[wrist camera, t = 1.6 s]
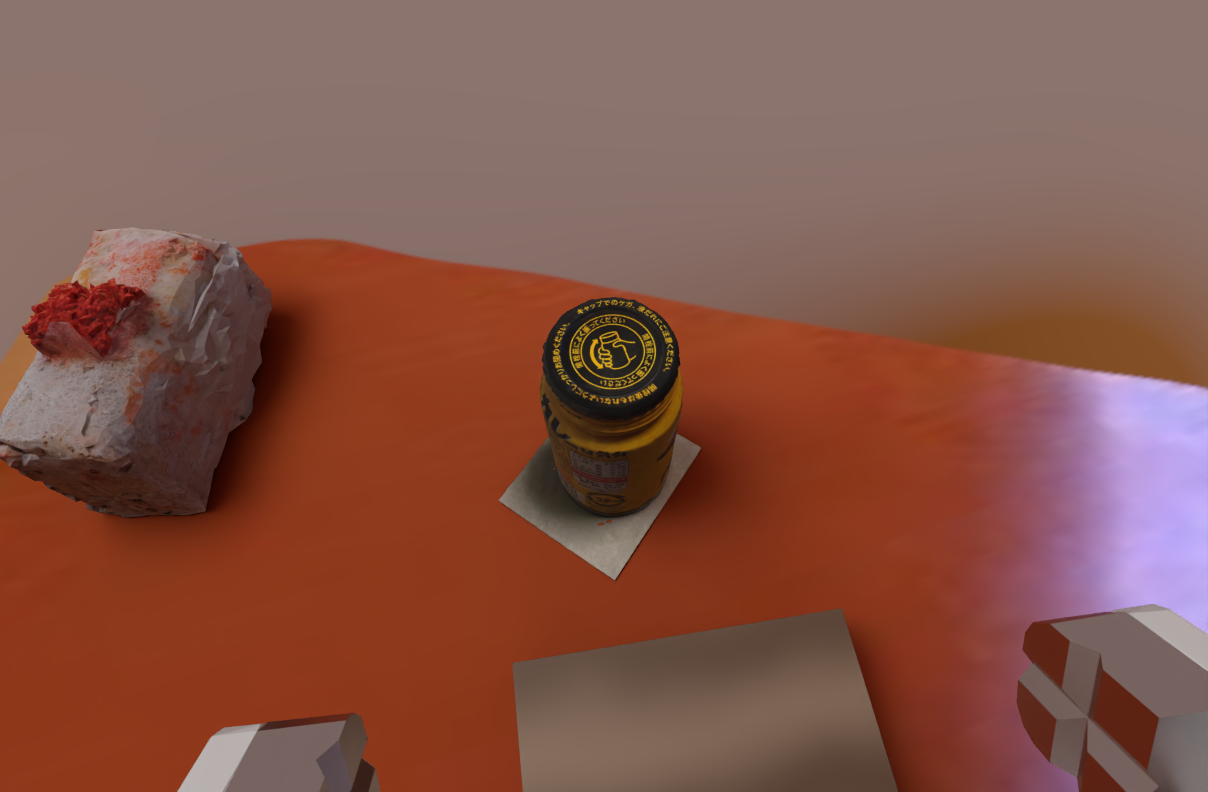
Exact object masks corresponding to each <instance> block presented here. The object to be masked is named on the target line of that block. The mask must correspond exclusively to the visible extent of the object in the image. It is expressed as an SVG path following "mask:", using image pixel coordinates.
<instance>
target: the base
mask: <svg viewBox="0 0 1208 792" xmlns="http://www.w3.org/2000/svg"><path fill="white" fill-rule="evenodd" d="M512 664H513V676H514V688H515V701H516V713H517V725H518V737H519V749H520V761H521V773H522V786H523V792H898V789H897V786H896V783H895V779H894V776H893V773H892V770H891V766H890V763H889V760H888V757H887V753H886V750H885V747H884V744H883V741H882V737H881V734H880V731H879V728H878V724H877V721H876V718H875V715H874V711H873V708H872V705H871V702H870V698H869V695H868V692H867V689H866V686H865V682H864V679H863V676H862V673H861V669H860V666H859V663H858V660H857V656H856V653H855V650H854V647H853V643H852V640H851V637H850V634H849V631H848V627H847V624H846V621H845V618H844V614H843V611H842V608H841V609H835V610H829V611H823V612H817V613H811V614H805V615H799V616H793V617H787V618H781V619H775V620H769V621H763V622H757V623H751V624H745V625H739V626H733V627H727V628H721V629H715V630H709V631H703V632H697V633H691V634H685V635H679V636H673V637H667V638H661V639H655V640H649V641H643V642H637V643H631V644H625V645H619V646H613V647H607V648H601V649H595V650H589V651H583V652H577V653H571V654H565V655H559V656H553V657H547V658H541V659H535V660H529V661H523V662H517V663H512Z"/></svg>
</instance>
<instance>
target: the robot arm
mask: <svg viewBox="0 0 1208 792" xmlns="http://www.w3.org/2000/svg"><path fill="white" fill-rule="evenodd" d="M1023 651H1024V652H1025V654H1026V655H1027V656H1028V658H1029V659H1030V660H1031V662H1032V664H1031V665H1030V666H1029V667H1028V669H1027V670H1026V671H1025V672H1024V673H1023V675H1022V676H1021V677H1020V678H1019V679H1018V690H1017V705H1018V709H1019V712H1020V716H1021V719H1022V722H1023V726H1024V727H1025V729H1026V731H1027V733H1028V734H1029V736H1030V738H1031V740H1032V741H1033V743H1034V744H1035V746H1036V747H1037V748H1038V749H1039V750H1040V752H1041V753H1042V754H1043V755H1044V756H1045V757H1046V759H1047V760H1048V761H1049V762H1050V763H1052V764H1053V765H1055V766H1057V767H1059V768H1061V769H1063V770H1065V771H1066V772H1068V773H1070V774H1072V775H1074V776H1076V777H1077V779H1078V788H1079V792H1208V634H1207V633H1205V632H1204V631H1202V630H1201V629H1199V628H1198V627H1196V626H1195V625H1193V624H1192V623H1190V622H1189V621H1187V620H1186V619H1184V618H1183V617H1181V616H1180V615H1178V614H1177V613H1175V612H1174V611H1172V610H1170V609H1167V608H1164V607H1161V606H1158V605H1155V604H1150V605H1143V606H1137V607H1130V608H1124V609H1117V610H1113V611H1111V612H1101V613H1094V614H1087V615H1080V616H1073V617H1066V618H1059V619H1052V620H1045V621H1038V622H1033V623H1032V624H1031V625H1030V627H1029V628H1028V630H1027V631H1026V632H1025V637H1024V644H1023ZM367 739H368V738H367V735H366V732H365V729H364V725H363V722H362V719H361V716H359V715H357V714H355V713H347V714H338V715H329V716H320V717H310V718H301V719H292V720H283V721H273V722H268V723H267V724H255V725H245V726H236V727H226V728H223V729H221V730H220V731H219V732H217V733H216V734H215V735H213V736H212V737H211V738H210V739H209V741H208V743H207V744H206V746H205V747H204V749H203V751H202V752H201V754H200V756H199V757H198V759H197V760H196V762H195V764H194V765H193V767H192V769H191V770H190V772H189V773H188V775H187V777H186V778H185V780H184V782H183V783H182V785H181V786H180V788H179V790H178V791H177V792H380V789H379V782H378V778H377V774H376V770H375V768H374V767H373V766H372V765H370V764H369V763H368V762H366V761H365V760H364V759H362V754H363V751H364V748H365V745H366V742H367Z"/></svg>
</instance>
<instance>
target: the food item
mask: <svg viewBox="0 0 1208 792" xmlns="http://www.w3.org/2000/svg"><path fill="white" fill-rule="evenodd" d="M89 249H90V250H89V251H87V252H86V253H85V258H84V259H83V260H82V262H81V263H80V264H79V265H78V267H77V270H76V272H75V274H74V276H73V279H72V282H71V283H66V284H60V285H55V288H54V289H52V290H51V291H52V293H50V294H48V296H49V299H48V300H47V302H44V303H41V304H38V305H35V306H32V308H31V309H32V310H33V311H34V313H35V315H34V316H30V317H31V319H32V320H31V322H29V323H28V324H26V325H24V326H23V327H22V329H23V331H24V332H25V334H26V335H29V336H28V337H29V338H30V339H31V344H32V345H33V346H34V347H35V348H36V349H37V350H38V351H37V353H36V356H35V359H34V361H33V362H32V364H31V365H30V368H29V369H28V370H27V371H26V373H25V375H24V377H23V379H22V380H21V381H20V382H19V383H18V387H17V389H16V390H15V392H14V393H13V395H12V397H11V398H10V400H9V402H8V403H7V405H6V406H5V408H4V410H3V412H2V415H1V418H0V459H2V460H3V461H5V462H7V463H8V464H9V465H10V467H12V468H15V469H18V471H19V472H20V474H22V475H24V476H27V477H29V478H30V479H32V480H34V481H42V482H43V483H44V484H45V485H46V486H47V487H48V488H49V489H52V490H54V491H56V492H59V493H61V494H63V495H64V496H66V497H68V498H70V499H72V500H74V501H76V502H77V501H80V500H81V501H83V502H85V503H86V504H87V509H89V510H92V511H96V512H99V513H108V514H111V515H120V516H122V517H123V518H124V517H140V516H147V515H190V514H195V513H200V512H206V507H207V502H208V496H209V493H210V489H211V483H212V477H213V472H214V469H215V468H216V467H217V465H218V463H219V460H220V457H221V455H222V452H223V449H224V447H225V444H226V440H227V437H228V434H229V432H231V431H232V430H233V429H235V428H236V427H238V426H239V425H240V424H242V423H243V422H244V421H246V420H247V417H248V416H249V415H250V414H251V412H252V409H253V404H252V401H253V397H254V392H255V387H254V385H253V382H252V378H253V376H254V374H255V373H256V371H257V369H258V368H259V366H260V364H261V363H262V358H261V351H260V342H261V339H262V336H263V333H264V330H265V329H266V328H267V319H268V317H269V314H270V311H271V310H273V309H272V305H271V290H270V289H269V288H268V287H267V288H266V287H264V285H263V282H262V280H261V279H260V278H259V277H258V276H257V275H256V274H255V273H254V272H253V271H252V270H250V268H249V266H248V264H247V263H246V262H245V261H244V260H243V256H242V253H241V252H240V251H239V250H238V249H237V248H233V247H232V246H231V244H230V243H229V242H219V241H217V240H215V239H202V238H201V237H200V236H198V235H194V234H188V233H181V232H175V231H167V230H141V229H137V228H134V227H132V228H126V229H111V230H95V231H94V235H93V239H92V241H91V244H90V247H89ZM98 510H99V511H98Z"/></svg>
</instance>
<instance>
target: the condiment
mask: <svg viewBox="0 0 1208 792" xmlns="http://www.w3.org/2000/svg"><path fill="white" fill-rule="evenodd" d="M543 349H544V353H543V356H542V362H543V375H542V379H541V385H540V400H541V404H542V410H543V414H544V418H545V422H546V429H547V431H548V434H549V437H548V438H547V439H546V441H545V442H544V443H543V444H542V446H541V447H540V448H539V449H538V450H537V452H536V453H535V455H534V456H533V457H532V459H531V460H530V461H529V462H528V464H527V465H526V467H525V468H524V469H523V470H522V472H521V473H520V474H519V476H518V477H517V478H516V479H515V480H514V481H513V483H512V484H511V485H510V486H509V487H508V489H507V490H506V492H505V493H504V494H503V496H502V497H501V498H500V499H499V501H500V502H502V503H503V504H504V505H506V506H507V507H509V508H510V509H512V510H513V511H514V512H516V513H517V514H519V515H520V516H521V517H523V518H524V519H526V520H527V521H529V522H530V523H532V524H533V525H535V526H536V527H537V528H538V529H540V530H542V531H543V532H545V533H546V534H547V535H549V536H550V537H552V538H553V539H555V540H556V541H558V542H559V543H561V544H562V545H563V546H565V547H566V548H567V549H569V550H571V551H572V552H574V553H575V554H577V555H578V556H580V557H581V558H583V559H584V560H586V561H587V562H588V563H590V564H591V565H593V566H594V567H596V568H597V569H599V570H600V571H602V572H603V573H605V574H606V575H608V576H609V577H611V578H612V579H614V580H615V579H616V578H617V576H618V575H619V573H620V572H621V570H622V568H623V567H624V565H625V564H626V562H627V561H628V559H629V558H630V556H631V555H632V553H633V552H634V550H635V548H636V547H637V545H638V544H639V542H640V541H641V539H642V538H643V536H644V535H645V533H646V532H647V530H648V529H649V527H650V526H651V524H652V523H653V521H654V520H655V518H656V517H657V515H658V514H659V512H660V511H661V509H662V508H663V506H664V505H665V503H666V502H667V500H668V499H669V497H670V495H671V494H672V492H673V491H674V489H675V488H676V486H677V485H678V483H679V482H680V480H681V479H682V477H683V476H684V474H685V473H686V471H687V469H688V468H689V466H690V465H691V463H692V462H693V460H694V459H695V457H696V456H697V454H698V453H699V451H700V449H701V447H700V446H698V445H696V444H694V443H693V442H691V441H689V440H687V439H686V438H684V437H682V436H680V435H678V434H677V433H676V432H677V426H678V422H679V419H680V414H681V408H682V397H683V383H682V379H681V375H680V370H679V366H680V358H679V347H678V342H677V339H676V337H675V335H674V332H673V331H672V330H671V328H670V326H669V325H668V323H667V322H666V321H665V320H664V319H663V318H662V317H661V316H660V315H659V314H658V313H656V312H655V311H653V310H651V309H649V308H648V307H647V306H645V305H643V304H642V303H639V302H637V301H635V300H627V299H623V298H617V297H611V298H601V299H592V300H589V301H587V302H585V303H582V304H580V305H578V306H577V307H575V308H573V309H571V310H569V311H567V312H566V313H565V314H563V315H562V316H561V317H560V318H559V320H558V321H557V323H556V324H555V325H554V326H553V328H552V329H551V331H550V333H549V335H548V338H547V340H546V343H544V345H543ZM553 468H555V470H553ZM607 520H611V523H607V522H606V521H607ZM601 522H604V525H602V526H599V525H598V523H601Z"/></svg>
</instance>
